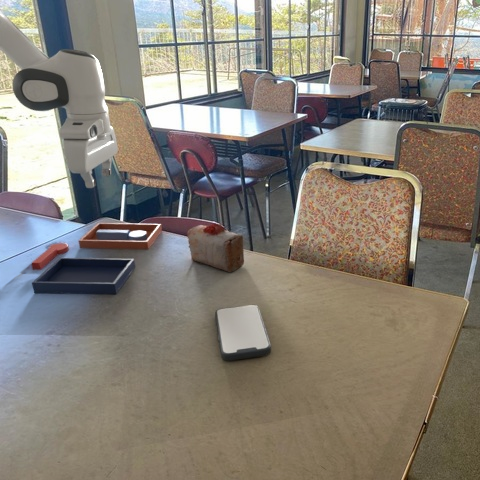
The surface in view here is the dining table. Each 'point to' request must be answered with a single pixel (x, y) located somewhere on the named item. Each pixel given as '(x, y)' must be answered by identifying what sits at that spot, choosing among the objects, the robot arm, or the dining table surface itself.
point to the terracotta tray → (91, 240)
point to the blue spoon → (121, 235)
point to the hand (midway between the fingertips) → (99, 181)
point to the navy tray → (84, 276)
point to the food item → (216, 247)
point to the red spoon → (49, 255)
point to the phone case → (241, 332)
